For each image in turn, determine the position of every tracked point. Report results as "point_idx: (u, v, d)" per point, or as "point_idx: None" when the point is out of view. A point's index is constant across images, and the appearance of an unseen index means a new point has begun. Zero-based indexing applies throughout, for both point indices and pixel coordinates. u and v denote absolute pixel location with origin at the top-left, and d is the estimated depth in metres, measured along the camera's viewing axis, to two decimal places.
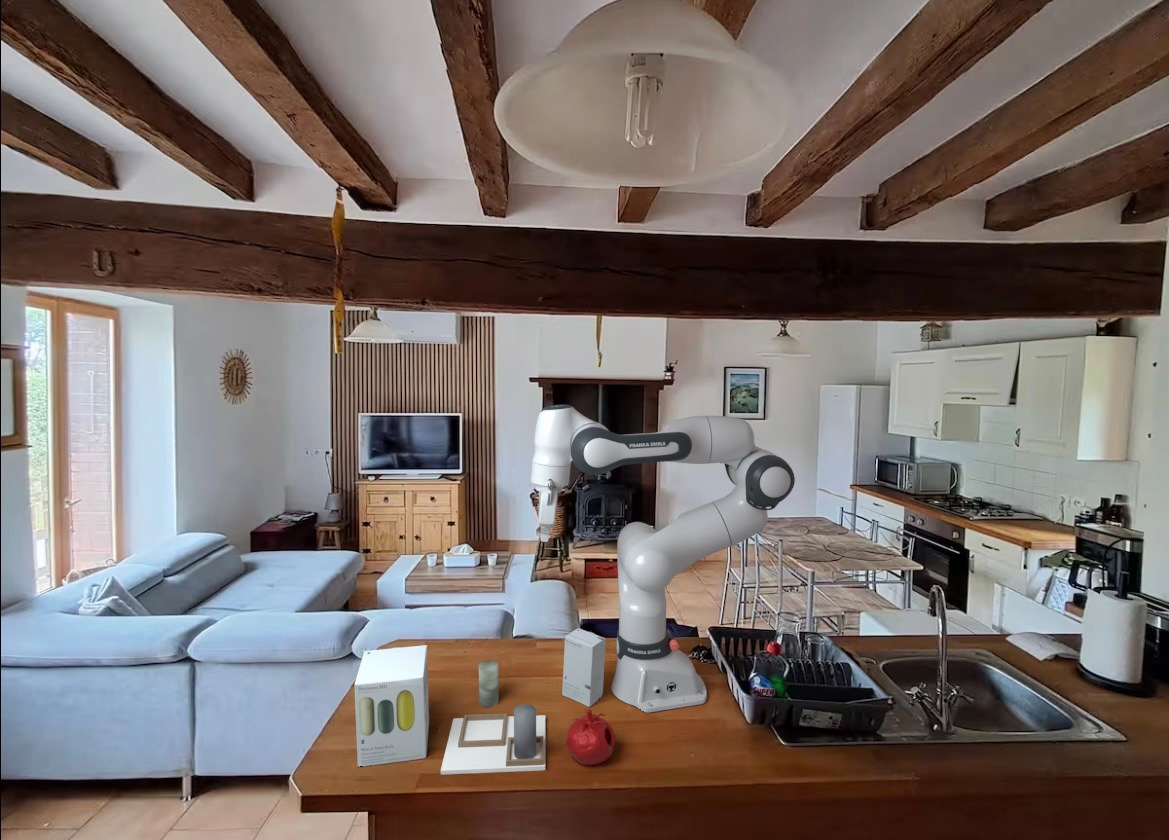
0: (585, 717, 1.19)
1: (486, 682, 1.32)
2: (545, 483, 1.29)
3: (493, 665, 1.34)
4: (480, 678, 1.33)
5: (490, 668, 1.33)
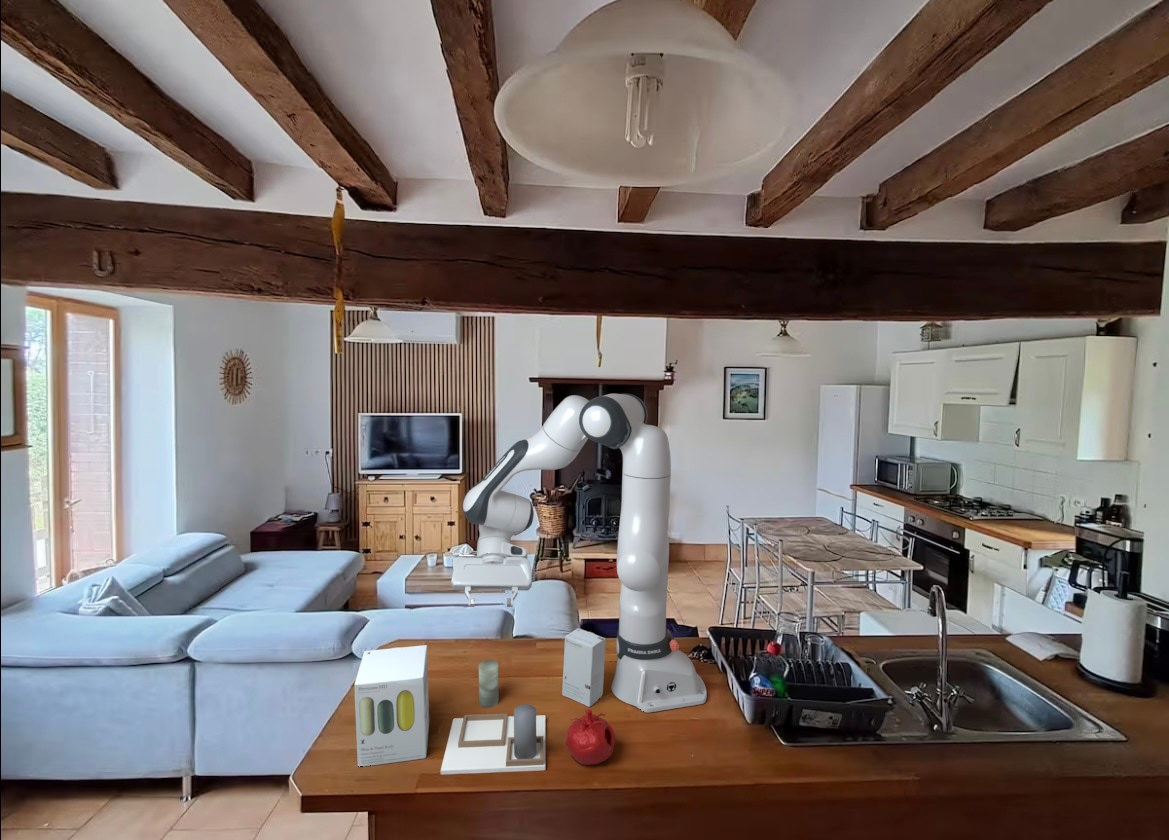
0: (585, 717, 1.19)
1: (486, 682, 1.32)
2: None
3: (493, 665, 1.34)
4: (480, 678, 1.33)
5: (490, 668, 1.33)
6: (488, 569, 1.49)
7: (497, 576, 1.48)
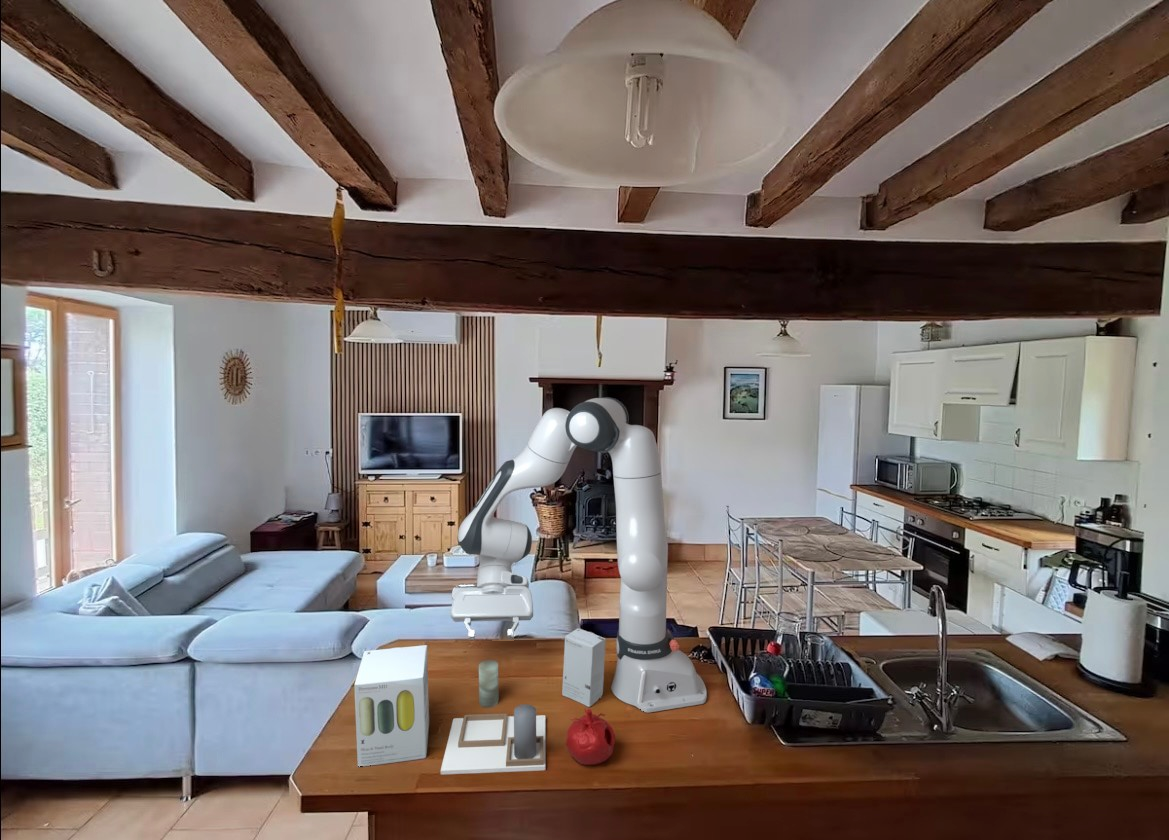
0: (585, 717, 1.19)
1: (486, 682, 1.32)
2: None
3: (493, 665, 1.34)
4: (480, 678, 1.33)
5: (490, 668, 1.33)
6: (488, 599, 1.45)
7: (497, 607, 1.44)
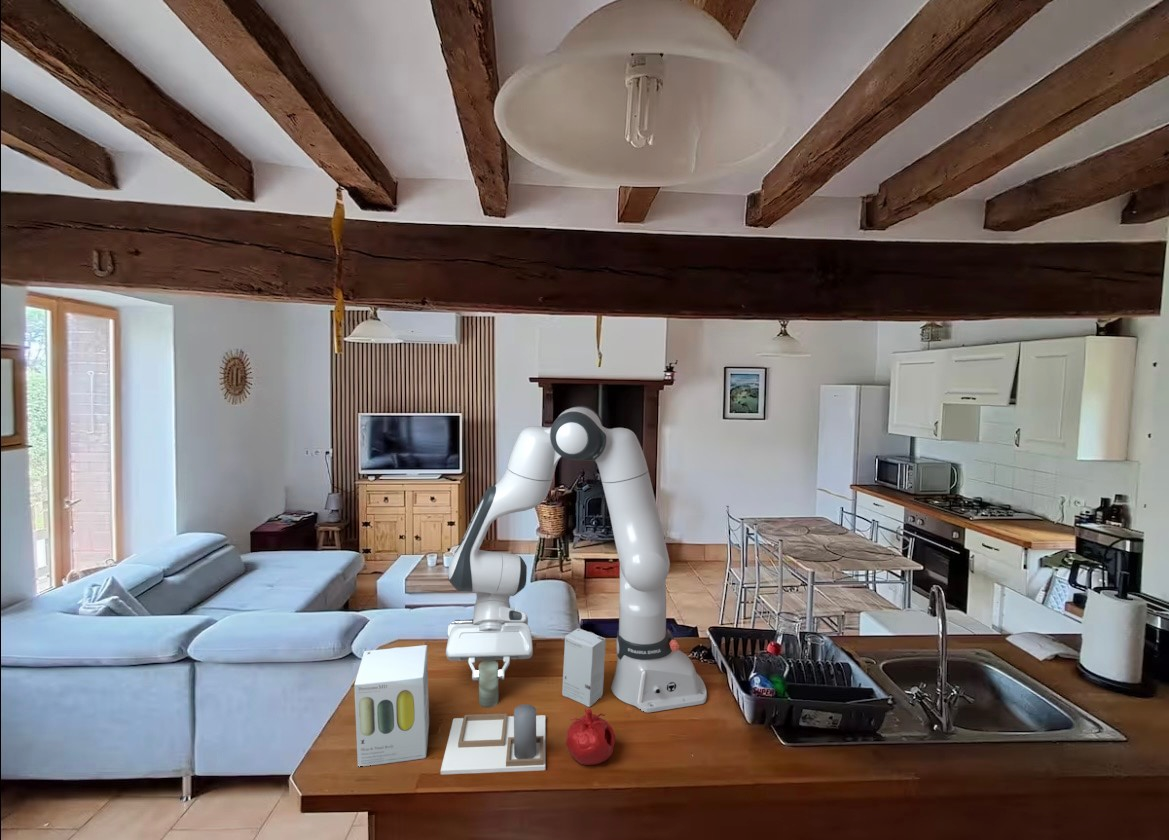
0: (585, 717, 1.19)
1: (486, 682, 1.32)
2: None
3: (493, 665, 1.34)
4: (480, 678, 1.33)
5: (490, 668, 1.33)
6: (485, 637, 1.38)
7: (494, 645, 1.37)
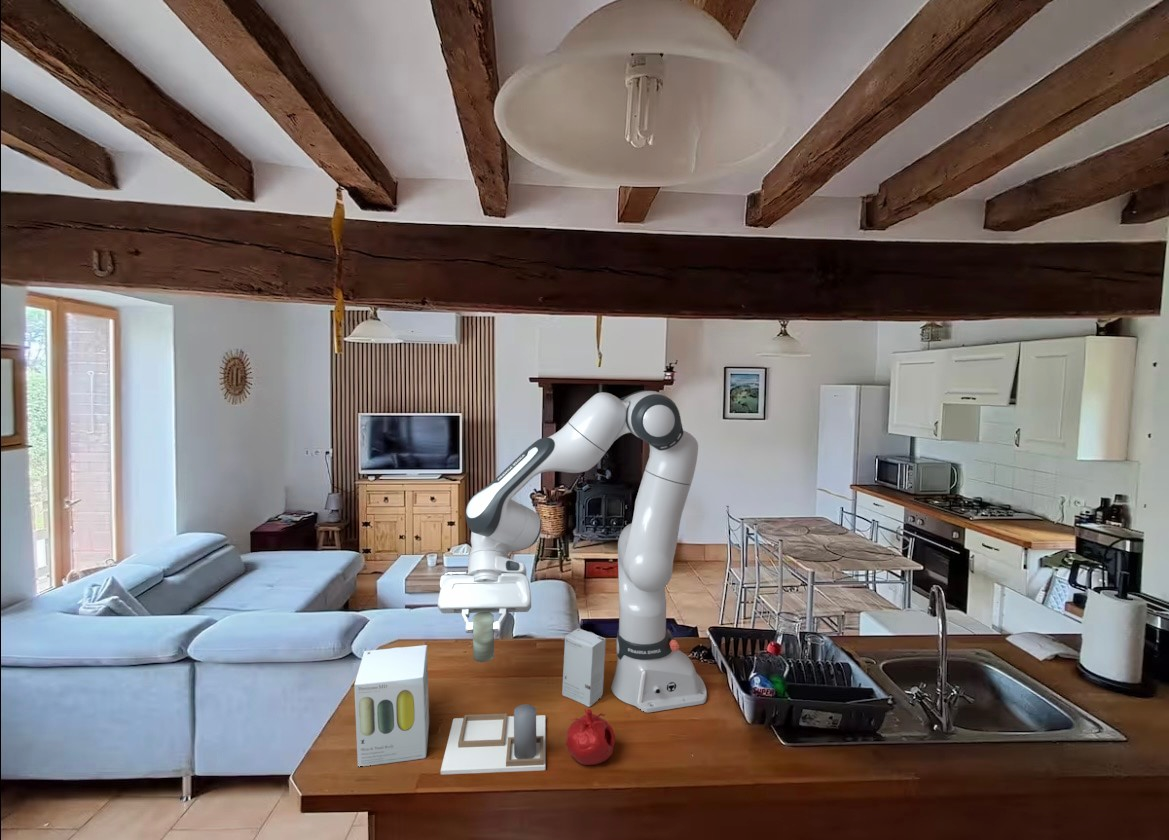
0: (585, 717, 1.19)
1: (480, 634, 1.23)
2: None
3: (488, 616, 1.24)
4: (474, 630, 1.23)
5: (485, 620, 1.23)
6: (480, 588, 1.28)
7: (490, 596, 1.27)
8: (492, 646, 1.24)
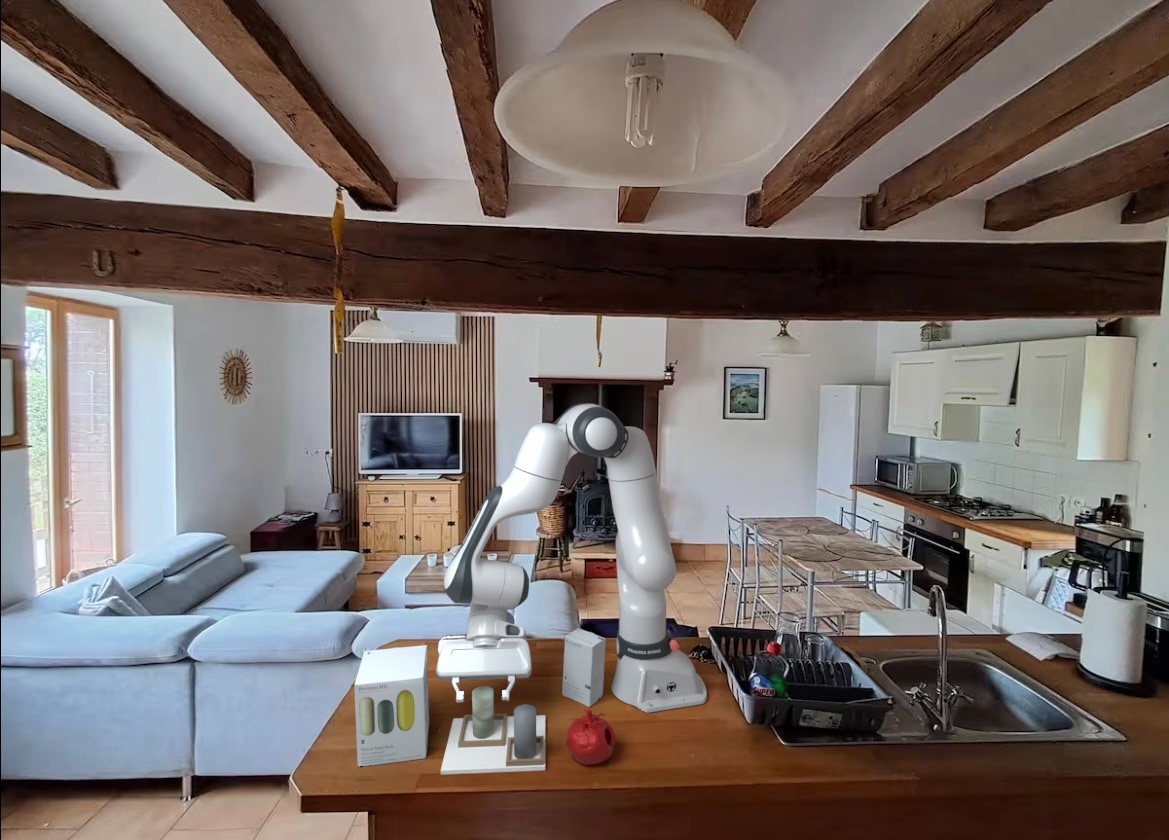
0: (585, 717, 1.19)
1: (480, 711, 1.20)
2: None
3: (488, 692, 1.22)
4: (474, 706, 1.21)
5: (485, 696, 1.21)
6: (479, 654, 1.26)
7: (490, 663, 1.25)
8: (492, 722, 1.22)
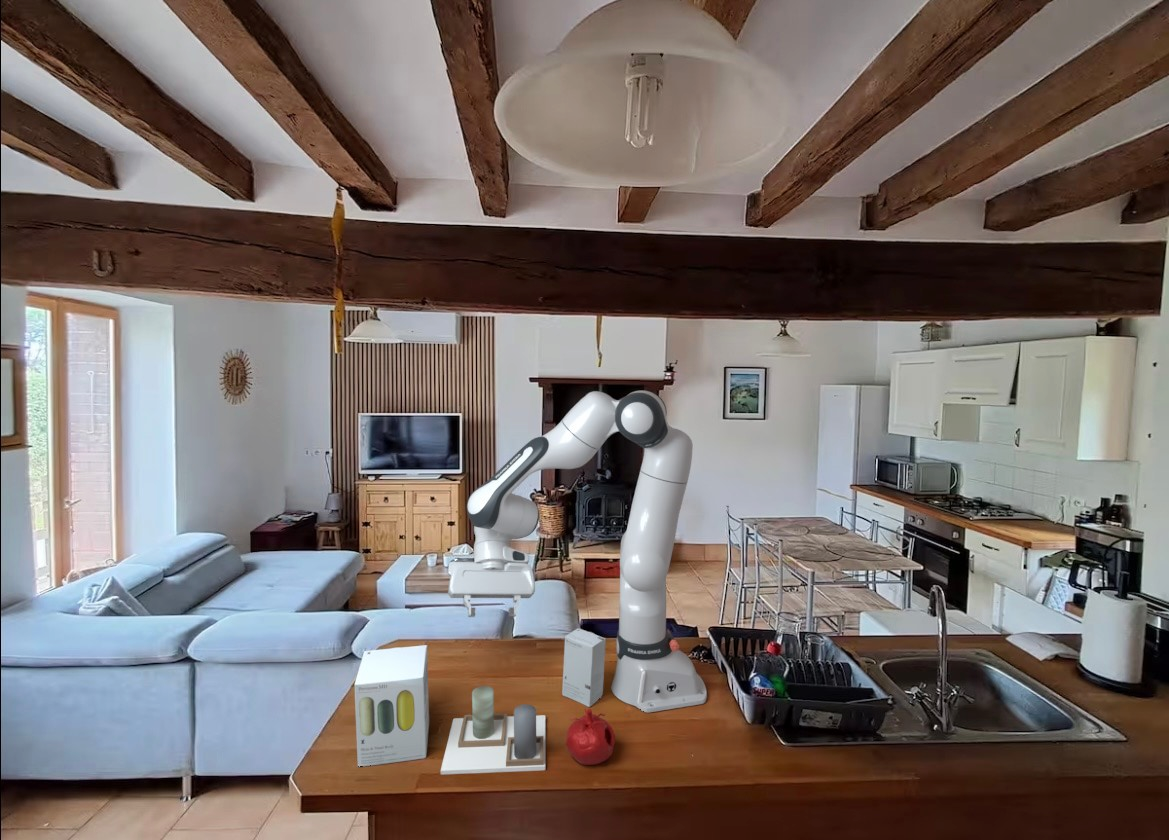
0: (585, 717, 1.19)
1: (480, 711, 1.20)
2: None
3: (488, 692, 1.22)
4: (474, 707, 1.21)
5: (485, 696, 1.21)
6: (488, 576, 1.38)
7: (498, 584, 1.37)
8: (492, 722, 1.22)
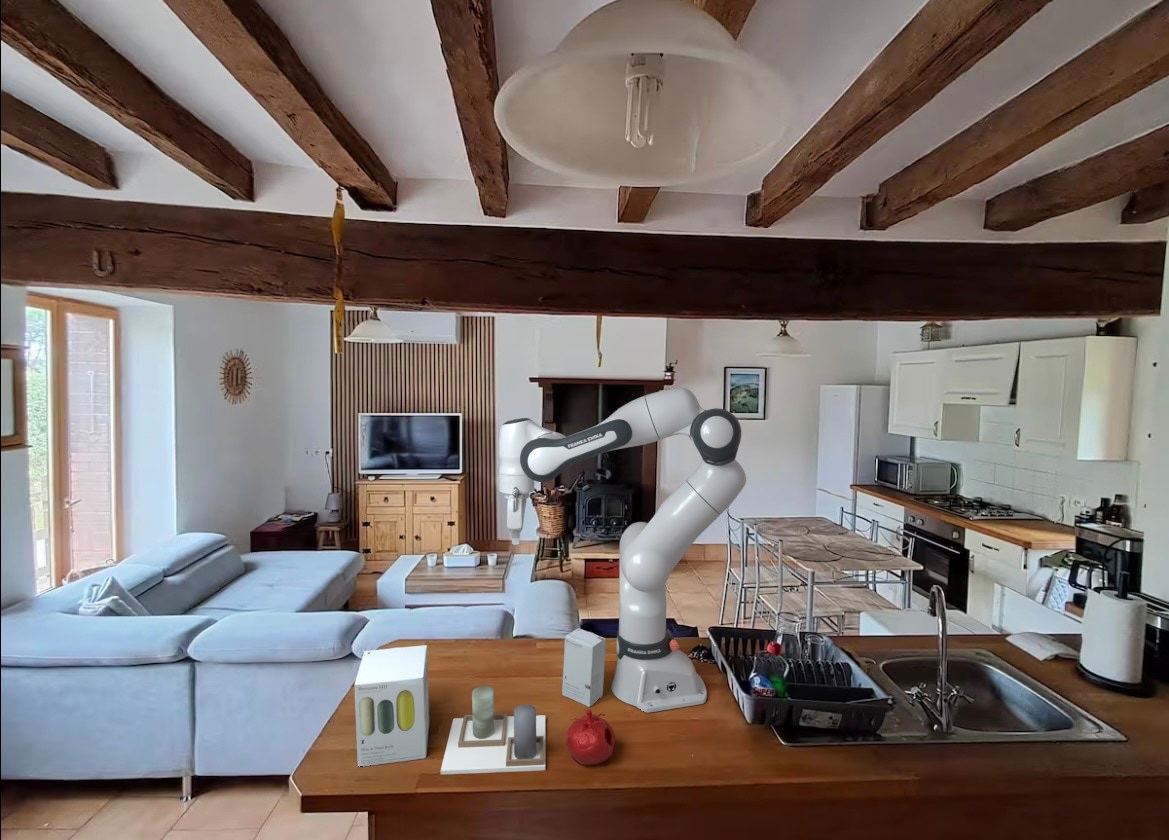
0: (585, 717, 1.19)
1: (480, 711, 1.20)
2: (511, 491, 1.41)
3: (488, 692, 1.22)
4: (474, 707, 1.21)
5: (485, 696, 1.21)
6: (522, 503, 1.44)
7: None
8: (492, 722, 1.22)
